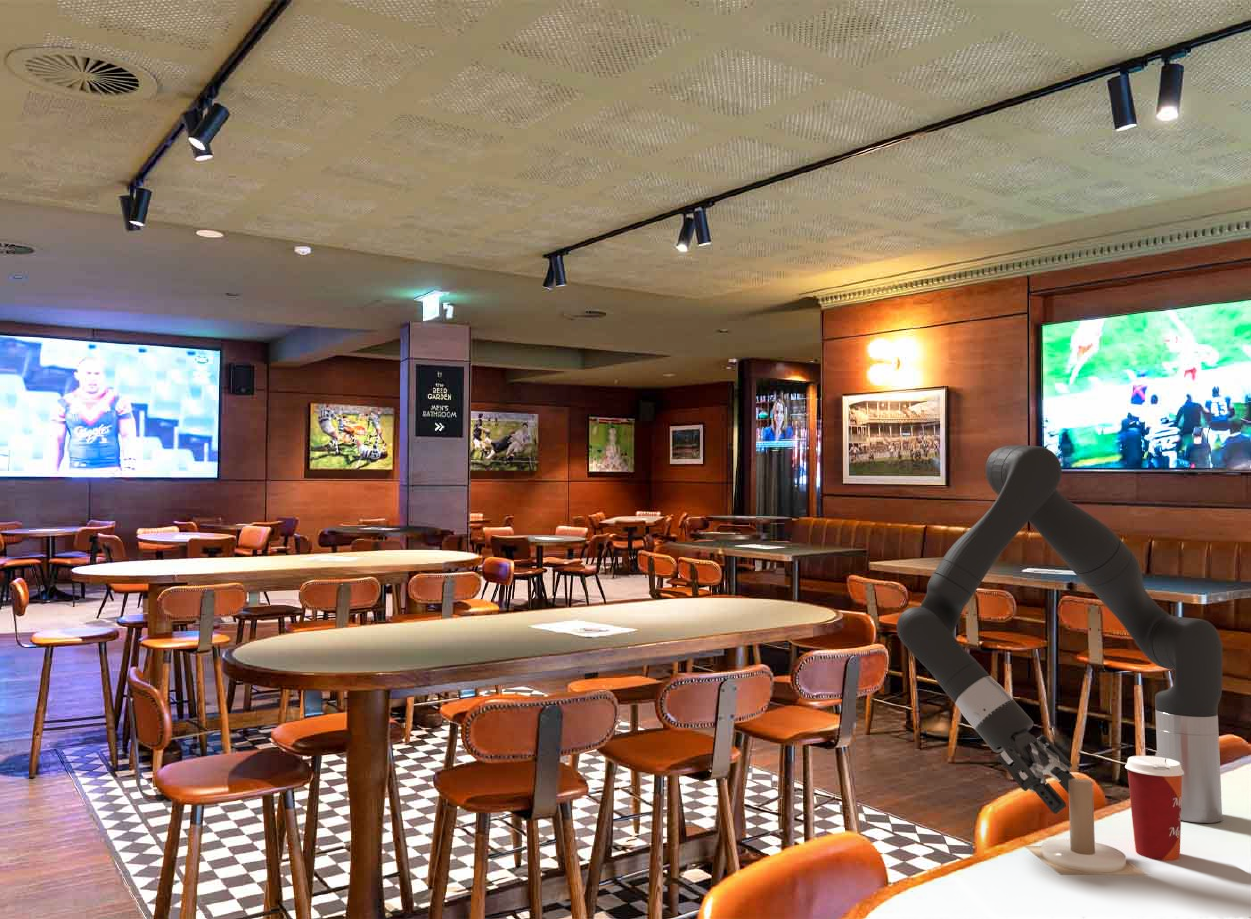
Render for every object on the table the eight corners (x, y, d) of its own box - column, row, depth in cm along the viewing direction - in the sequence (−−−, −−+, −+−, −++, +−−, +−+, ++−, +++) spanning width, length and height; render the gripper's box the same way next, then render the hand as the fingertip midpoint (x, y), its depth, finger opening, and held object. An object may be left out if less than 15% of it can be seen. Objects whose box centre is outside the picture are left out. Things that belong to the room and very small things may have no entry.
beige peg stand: (1028, 847, 142) (1026, 771, 143) (1101, 847, 142) (1099, 772, 143) (1062, 873, 131) (1060, 791, 132) (1142, 873, 131) (1139, 791, 132)
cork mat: (1023, 850, 143) (1023, 846, 143) (1103, 850, 143) (1103, 846, 143) (1060, 878, 131) (1060, 874, 131) (1147, 879, 131) (1147, 874, 131)
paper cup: (1196, 869, 135) (1192, 768, 136) (1137, 865, 137) (1134, 765, 138) (1176, 851, 143) (1172, 755, 144) (1120, 847, 144) (1117, 753, 145)
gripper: (989, 703, 141) (1073, 798, 132) (1028, 693, 151) (1108, 780, 142) (956, 735, 144) (1035, 829, 135) (996, 722, 154) (1072, 809, 145)
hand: (1072, 804), depth 138 cm, fingers open, 8 cm apart
